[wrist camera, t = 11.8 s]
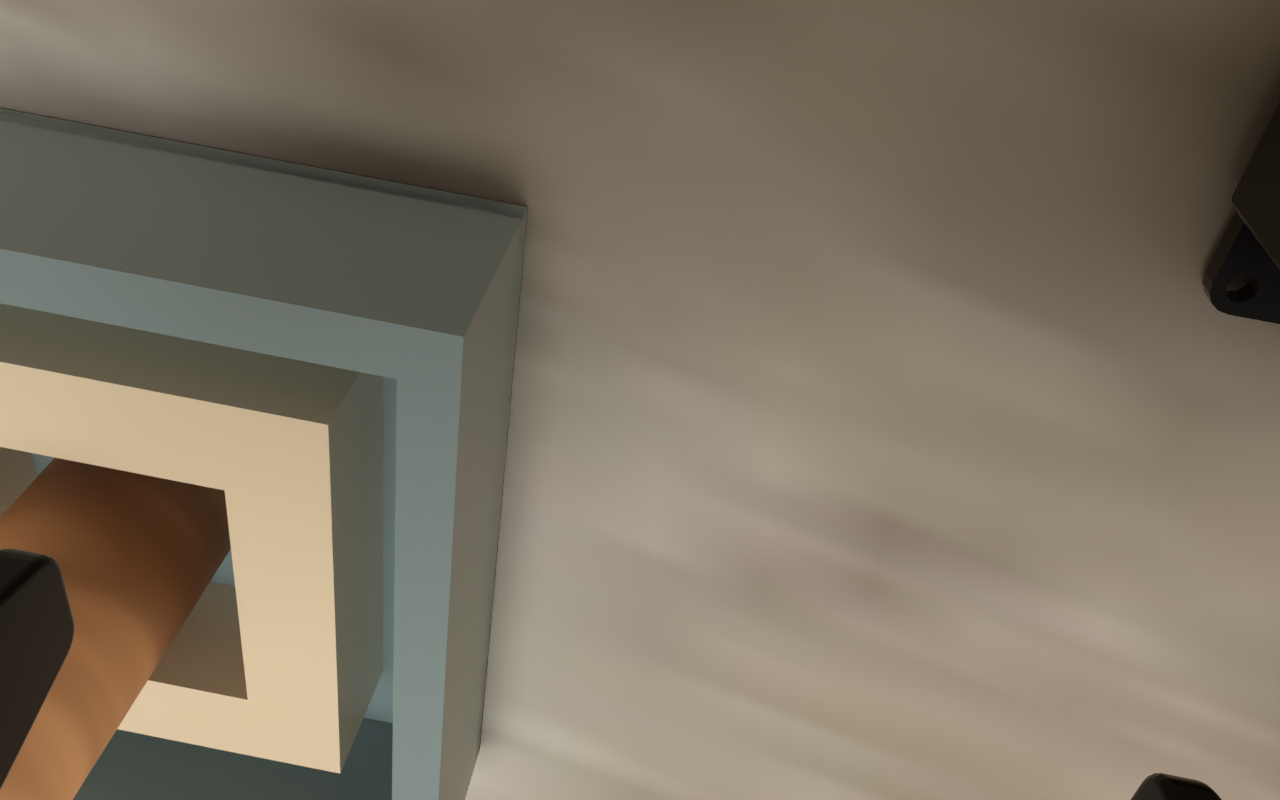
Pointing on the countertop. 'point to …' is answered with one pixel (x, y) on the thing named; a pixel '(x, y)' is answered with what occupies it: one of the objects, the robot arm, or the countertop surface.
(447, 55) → the countertop surface
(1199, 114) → the countertop surface
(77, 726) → the peg
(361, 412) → the open box
